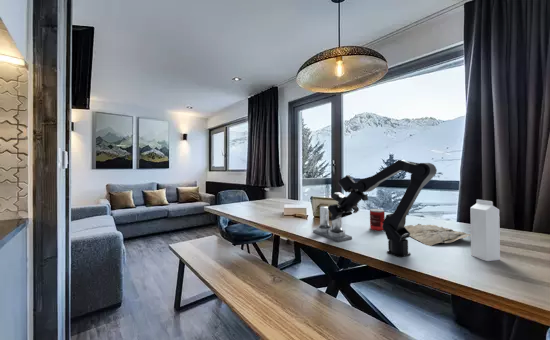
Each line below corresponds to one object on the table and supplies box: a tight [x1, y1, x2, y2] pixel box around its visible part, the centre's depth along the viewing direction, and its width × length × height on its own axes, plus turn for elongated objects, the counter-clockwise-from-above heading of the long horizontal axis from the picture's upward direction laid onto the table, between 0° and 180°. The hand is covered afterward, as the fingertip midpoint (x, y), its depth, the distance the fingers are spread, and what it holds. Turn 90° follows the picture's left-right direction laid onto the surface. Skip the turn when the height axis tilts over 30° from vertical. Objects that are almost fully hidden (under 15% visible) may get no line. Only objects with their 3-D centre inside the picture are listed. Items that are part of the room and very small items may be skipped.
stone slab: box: [404, 223, 471, 247], centre depth 119 cm, size 33×27×5 cm
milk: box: [469, 198, 501, 262], centre depth 90 cm, size 6×6×22 cm
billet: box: [331, 205, 343, 233], centre depth 120 cm, size 5×5×13 cm
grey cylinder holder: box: [312, 205, 353, 243], centre depth 124 cm, size 20×9×14 cm, turn 27°
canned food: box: [369, 208, 386, 232], centre depth 134 cm, size 8×8×11 cm
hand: (334, 219), depth 121 cm, fingers closed on billet, 5 cm apart
